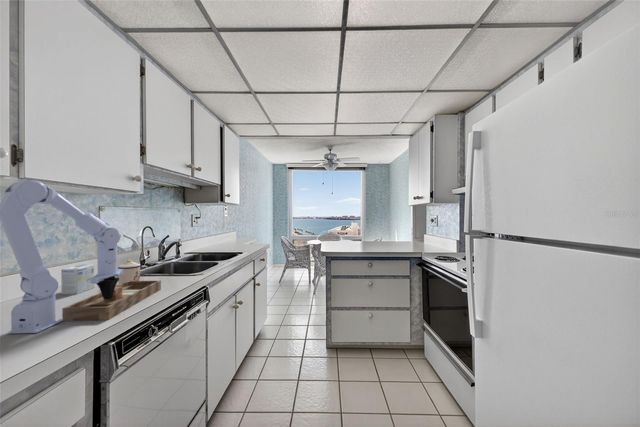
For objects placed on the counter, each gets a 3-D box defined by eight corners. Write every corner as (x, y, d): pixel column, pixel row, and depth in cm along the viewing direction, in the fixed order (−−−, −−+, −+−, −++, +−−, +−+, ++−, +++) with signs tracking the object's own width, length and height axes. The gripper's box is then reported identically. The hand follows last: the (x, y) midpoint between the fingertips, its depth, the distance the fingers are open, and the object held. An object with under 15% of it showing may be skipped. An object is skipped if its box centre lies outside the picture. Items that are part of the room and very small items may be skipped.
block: (115, 300, 105) (115, 289, 105) (104, 300, 104) (104, 289, 104) (122, 297, 109) (122, 286, 109) (111, 297, 108) (111, 286, 108)
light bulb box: (79, 287, 131) (79, 264, 131) (95, 287, 132) (95, 264, 132) (60, 294, 120) (60, 269, 120) (77, 294, 121) (77, 268, 121)
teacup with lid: (137, 285, 135) (137, 260, 135) (115, 287, 132) (114, 262, 132) (144, 279, 146) (144, 257, 146) (123, 281, 143) (123, 257, 143)
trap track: (108, 319, 93) (108, 307, 93) (62, 320, 92) (62, 308, 92) (160, 289, 129) (160, 280, 129) (127, 290, 128) (127, 281, 128)
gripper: (106, 264, 96) (106, 305, 96) (130, 257, 111) (131, 292, 111) (83, 264, 96) (83, 305, 96) (111, 257, 110) (111, 293, 110)
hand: (107, 298), depth 103 cm, fingers closed
